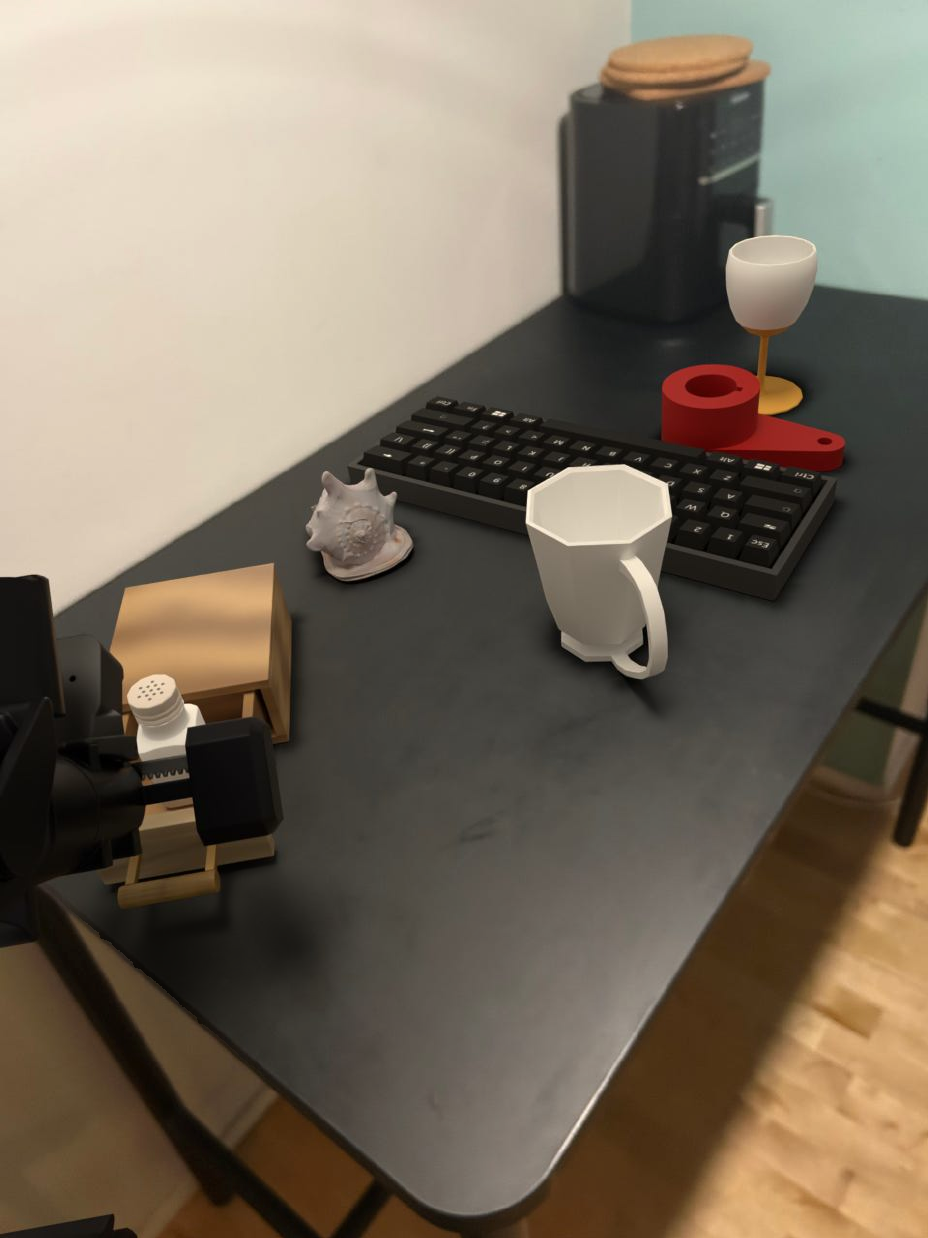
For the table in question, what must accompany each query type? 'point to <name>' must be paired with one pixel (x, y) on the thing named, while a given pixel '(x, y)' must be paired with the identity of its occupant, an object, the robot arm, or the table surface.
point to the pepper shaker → (162, 723)
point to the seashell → (356, 529)
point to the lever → (739, 421)
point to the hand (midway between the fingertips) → (148, 792)
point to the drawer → (184, 829)
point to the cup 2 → (771, 301)
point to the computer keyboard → (539, 449)
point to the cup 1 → (603, 561)
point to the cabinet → (211, 638)
